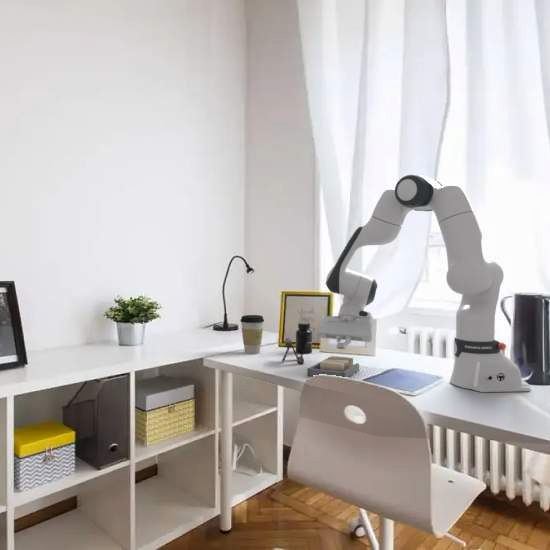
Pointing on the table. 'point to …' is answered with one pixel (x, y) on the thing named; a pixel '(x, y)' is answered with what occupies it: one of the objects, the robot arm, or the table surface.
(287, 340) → the portable electronic device stand
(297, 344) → the supplement bottle
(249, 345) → the coffee cup
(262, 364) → the table surface
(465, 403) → the table surface
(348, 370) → the tray
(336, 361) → the green tan block
